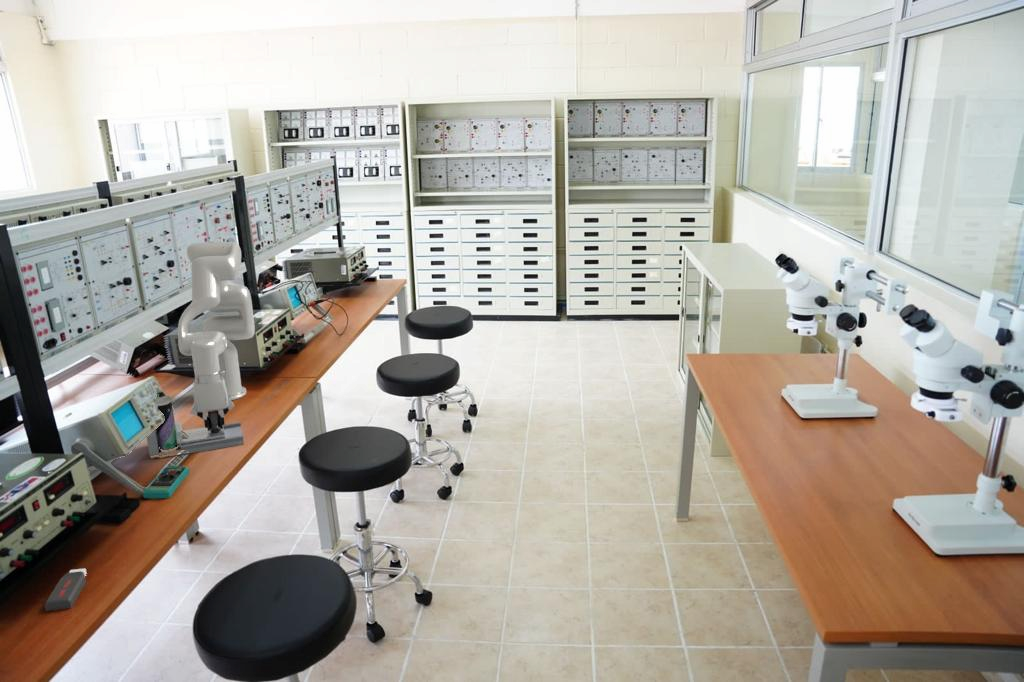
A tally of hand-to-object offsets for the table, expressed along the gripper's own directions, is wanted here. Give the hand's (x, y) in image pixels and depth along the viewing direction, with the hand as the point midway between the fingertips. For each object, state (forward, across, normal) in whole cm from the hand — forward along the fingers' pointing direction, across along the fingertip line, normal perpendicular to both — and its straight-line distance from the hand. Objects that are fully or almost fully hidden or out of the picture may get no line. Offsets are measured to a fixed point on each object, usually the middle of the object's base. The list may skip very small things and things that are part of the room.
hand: (215, 427), depth 225 cm
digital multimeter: (+5, +15, +24) cm, 29 cm away
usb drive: (+5, +34, +66) cm, 74 cm away
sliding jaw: (+3, +5, 0) cm, 5 cm away
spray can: (+5, +14, 0) cm, 15 cm away
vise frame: (+5, +6, 0) cm, 8 cm away
